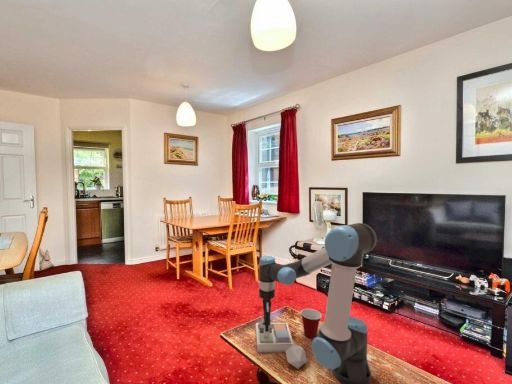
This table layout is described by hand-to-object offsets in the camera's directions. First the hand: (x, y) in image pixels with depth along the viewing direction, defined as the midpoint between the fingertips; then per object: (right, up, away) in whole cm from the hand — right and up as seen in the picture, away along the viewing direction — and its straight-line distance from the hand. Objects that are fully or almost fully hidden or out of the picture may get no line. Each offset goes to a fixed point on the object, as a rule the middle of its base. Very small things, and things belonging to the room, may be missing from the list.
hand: (266, 336), depth 138 cm
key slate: (+8, -1, 0) cm, 8 cm away
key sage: (0, -3, 0) cm, 3 cm away
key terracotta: (+7, -3, +9) cm, 12 cm away
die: (+12, -6, -14) cm, 19 cm away
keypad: (+4, -5, +5) cm, 7 cm away
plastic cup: (+23, -5, +10) cm, 26 cm away
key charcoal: (0, -1, +9) cm, 9 cm away
